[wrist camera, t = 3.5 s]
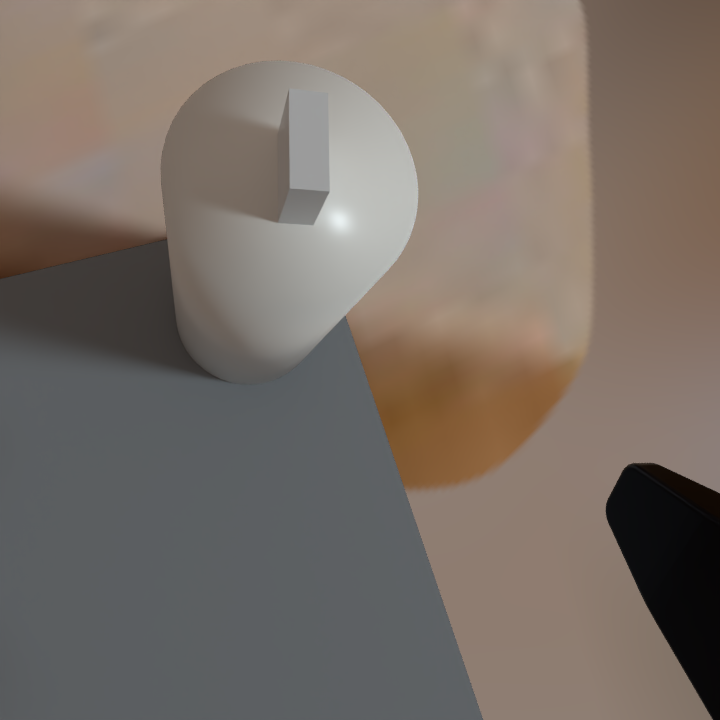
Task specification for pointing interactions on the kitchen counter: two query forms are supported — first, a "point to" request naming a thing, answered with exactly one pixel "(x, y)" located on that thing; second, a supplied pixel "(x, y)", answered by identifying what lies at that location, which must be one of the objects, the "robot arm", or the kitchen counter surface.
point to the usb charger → (279, 213)
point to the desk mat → (200, 523)
